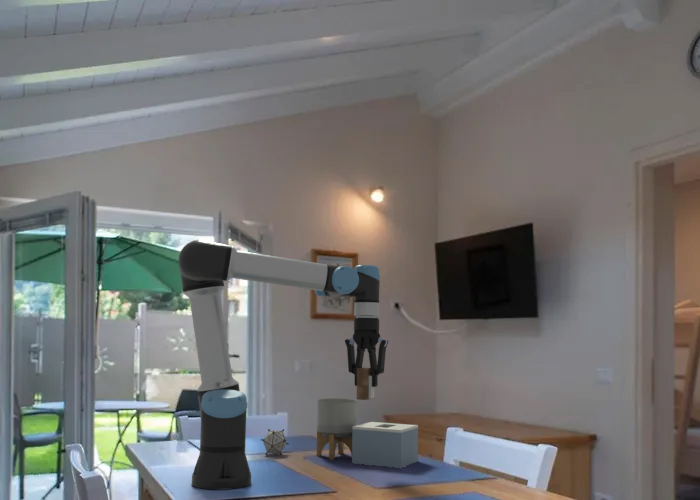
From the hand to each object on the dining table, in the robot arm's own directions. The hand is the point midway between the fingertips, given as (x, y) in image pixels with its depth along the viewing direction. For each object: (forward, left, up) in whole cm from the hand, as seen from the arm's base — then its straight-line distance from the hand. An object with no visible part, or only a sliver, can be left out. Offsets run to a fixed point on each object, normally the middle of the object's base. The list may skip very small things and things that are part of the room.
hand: (365, 397), depth 206 cm
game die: (+10, +37, -21) cm, 44 cm away
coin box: (+15, 0, -21) cm, 25 cm away
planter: (+17, +18, -21) cm, 32 cm away
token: (0, 0, 0) cm, 0 cm away
